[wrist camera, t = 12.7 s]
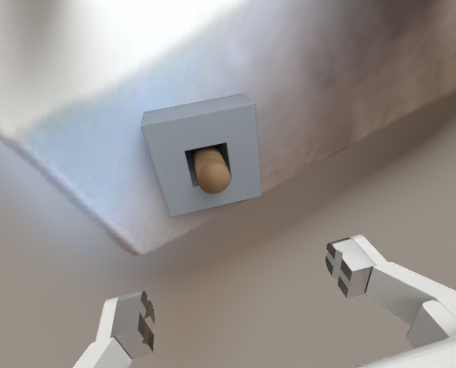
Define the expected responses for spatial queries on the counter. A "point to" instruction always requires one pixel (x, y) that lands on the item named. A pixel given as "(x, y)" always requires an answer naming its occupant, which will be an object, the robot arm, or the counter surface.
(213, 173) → the walnut peg
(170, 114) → the socket block
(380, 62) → the counter surface
